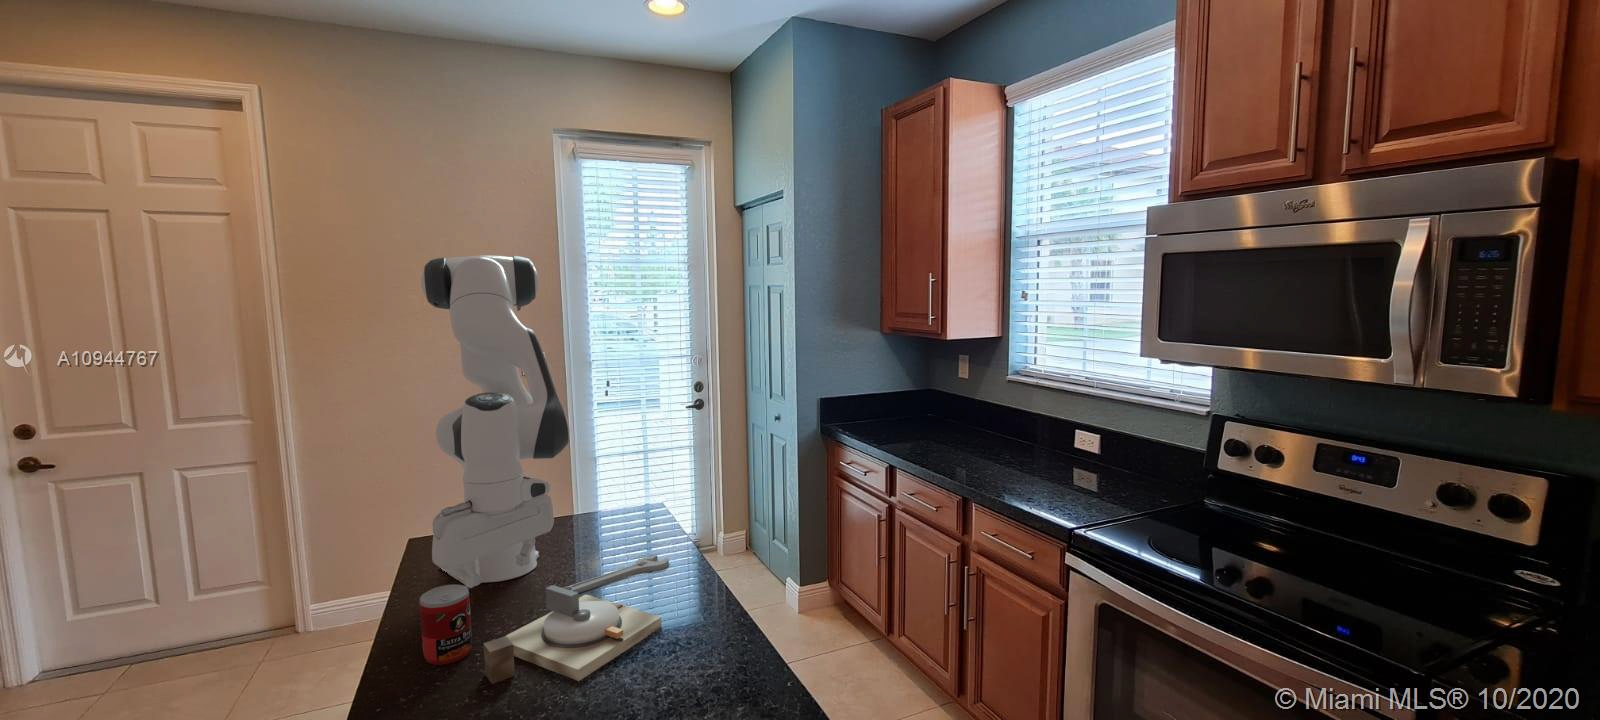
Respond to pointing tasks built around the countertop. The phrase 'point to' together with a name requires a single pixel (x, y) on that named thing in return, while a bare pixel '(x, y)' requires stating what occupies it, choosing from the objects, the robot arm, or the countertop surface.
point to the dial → (578, 618)
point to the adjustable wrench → (621, 573)
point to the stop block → (499, 659)
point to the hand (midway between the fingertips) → (498, 574)
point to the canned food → (446, 624)
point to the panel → (583, 656)
